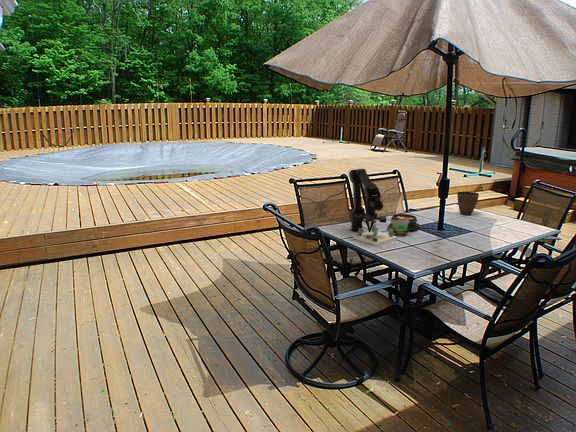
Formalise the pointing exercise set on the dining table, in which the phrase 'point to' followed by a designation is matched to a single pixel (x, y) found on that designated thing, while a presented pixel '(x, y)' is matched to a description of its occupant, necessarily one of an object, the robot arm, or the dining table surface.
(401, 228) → the food container
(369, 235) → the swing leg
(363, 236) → the cream square peg board
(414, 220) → the casserole
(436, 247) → the dining table surface
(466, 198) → the plant pot
